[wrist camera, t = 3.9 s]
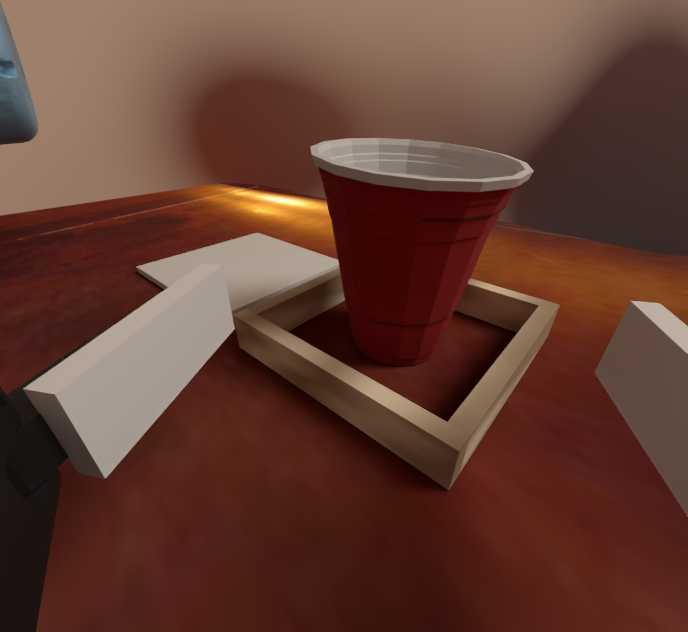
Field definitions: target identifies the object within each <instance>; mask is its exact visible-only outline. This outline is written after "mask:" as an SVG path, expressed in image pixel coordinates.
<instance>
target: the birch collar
mask: <svg viewBox="0 0 688 632" xmlns="http://www.w3.org/2000/svg"><path fill="white" fill-rule="evenodd" d="M343 301H345V297H344V293H343V286H342V280H341V274H340V268H337V269H335V270H333V271H330V272H328V273H326V274H324V275H321V276H319V277H317V278H315V279H312V280H310V281H308V282H306V283H303V284H301V285H299V286H297V287H294V288H292V289H290V290H288V291H285V292H283V293H281V294H279V295H276V296H274V297H272V298H270V299H267V300H265V301H263V302H261V303H258V304H256V305H254V306H252V307H250V308H247V309H245V310H243V311H241V312H238V313H236V314H234V315H233V317H234V322H235V327H236V332H237V337H238V342H239V347H240V348H241V349H243V350H244V351H246V352H247V353H249V354H250V355H252V356H253V357H255V358H256V359H258V360H259V361H260V362H262V363H263V364H265V365H266V366H268V367H269V368H271V369H272V370H274V371H275V372H276V373H278V374H279V375H281V376H282V377H284V378H285V379H287V380H288V381H290V382H291V383H293V384H294V385H295V386H297V387H298V388H300V389H301V390H303V391H304V392H306V393H307V394H309V395H310V396H312V397H313V398H314V399H316V400H317V401H319V402H320V403H322V404H323V405H325V406H326V407H328V408H329V409H330V410H332V411H333V412H335V413H336V414H338V415H339V416H341V417H342V418H344V419H345V420H347V421H348V422H349V423H351V424H352V425H354V426H355V427H357V428H358V429H360V430H361V431H363V432H364V433H366V434H367V435H368V436H370V437H371V438H373V439H374V440H376V441H377V442H379V443H380V444H382V445H383V446H384V447H386V448H387V449H389V450H390V451H392V452H393V453H395V454H396V455H398V456H399V457H401V458H402V459H403V460H405V461H406V462H408V463H409V464H411V465H412V466H414V467H415V468H417V469H418V470H420V471H421V472H422V473H424V474H425V475H427V476H428V477H430V478H431V479H433V480H434V481H436V482H437V483H439V484H440V485H441V486H443V487H444V488H446V489H447V490H449V489H450V488H451V486H452V485H453V483H454V481H455V480H456V478H457V477H458V475H459V474H460V472H461V471H462V469H463V467H464V466H465V464H466V463H467V461H468V460H469V458H470V457H471V455H472V453H473V452H474V450H475V449H476V447H477V446H478V444H479V442H480V441H481V439H482V438H483V436H484V435H485V433H486V432H487V430H488V428H489V427H490V425H491V424H492V422H493V421H494V419H495V418H496V416H497V414H498V413H499V411H500V410H501V408H502V407H503V405H504V404H505V402H506V400H507V399H508V397H509V396H510V394H511V393H512V391H513V390H514V388H515V386H516V385H517V383H518V382H519V380H520V379H521V377H522V376H523V374H524V372H525V371H526V369H527V368H528V366H529V365H530V363H531V361H532V360H533V358H534V357H535V355H536V354H537V352H538V351H539V349H540V347H541V346H542V344H543V343H544V341H545V340H546V338H547V337H548V334H549V332H550V329H551V326H552V324H553V321H554V319H555V316H556V313H557V311H558V308H559V306H560V305H558V304H555V303H552V302H548V301H545V300H541V299H538V298H535V297H531V296H528V295H525V294H521V293H518V292H514V291H511V290H508V289H504V288H501V287H497V286H494V285H491V284H487V283H484V282H481V281H477V280H474V279H469V281H468V284H467V286H466V288H465V291H464V293H463V295H462V298H461V300H460V302H459V305H458V307H457V309H456V310H455V311H458V312H461V313H464V314H466V315H469V316H472V317H475V318H477V319H480V320H483V321H486V322H489V323H491V324H494V325H497V326H500V327H502V328H505V329H508V330H511V331H514V332H516V333H517V334H516V336H515V337H514V338H513V339H512V341H511V342H510V343H509V344H508V346H507V347H506V348H505V349H504V351H503V352H502V353H501V355H500V356H499V357H498V358H497V360H496V361H495V362H494V363H493V365H492V366H491V367H490V369H489V370H488V371H487V372H486V374H485V375H484V376H483V377H482V379H481V380H480V381H479V383H478V384H477V385H476V386H475V388H474V389H473V390H472V391H471V393H470V394H469V395H468V397H467V398H466V399H465V400H464V402H463V403H462V404H461V405H460V407H459V408H458V409H457V411H456V412H455V413H454V414H453V416H452V417H451V418H450V419H449V421H448V422H446V421H445V420H443V419H441V418H439V417H438V416H436V415H434V414H432V413H430V412H429V411H427V410H425V409H423V408H422V407H420V406H418V405H416V404H414V403H413V402H411V401H409V400H407V399H406V398H404V397H402V396H400V395H399V394H397V393H395V392H393V391H391V390H390V389H388V388H386V387H384V386H383V385H381V384H379V383H377V382H375V381H374V380H372V379H370V378H368V377H367V376H365V375H363V374H361V373H360V372H358V371H356V370H354V369H352V368H351V367H349V366H347V365H345V364H344V363H342V362H340V361H338V360H337V359H335V358H333V357H331V356H329V355H328V354H326V353H324V352H322V351H321V350H319V349H317V348H315V347H313V346H312V345H310V344H308V343H306V342H305V341H303V340H301V339H299V338H298V337H296V336H294V335H292V334H290V333H289V332H288V331H290V330H292V329H294V328H295V327H297V326H299V325H301V324H303V323H305V322H306V321H308V320H310V319H312V318H314V317H315V316H317V315H319V314H321V313H323V312H325V311H326V310H328V309H330V308H332V307H334V306H336V305H337V304H339V303H341V302H343Z"/></svg>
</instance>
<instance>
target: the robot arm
mask: <svg viewBox="0 0 688 632" xmlns="http://www.w3.org/2000/svg"><path fill="white" fill-rule="evenodd" d="M37 131H38V123H37V118H36V114H35V110H34V106H33V102H32V98H31V95H30V92H29V88H28V84H27V81H26V77H25V74H24V71H23V68H22V65H21V61H20V58H19V55H18V52H17V49H16V46H15V43H14V40H13V37H12V34H11V31H10V28H9V25H8V22H7V19H6V16H5V13H4V10H3V8H2V5H1V2H0V145H1V144H12V143H24V142H28V141H30V140H32V139H33V138H34V137H35V136H36V134H37ZM234 329H235V327H234V322H233V317H232V312H231V307H230V302H229V297H228V292H227V287H226V281H225V276H224V271H223V266H222V265H217V264H206V263H203V264H201V265H200V266H198V267H197V268H195V269H194V270H193V271H191V272H190V273H188V274H187V275H185V276H184V277H183V278H181V279H180V280H178V281H177V282H175V283H174V284H172V285H171V286H170V287H168V288H167V289H165V290H164V291H162V292H161V293H160V294H158V295H157V296H155V297H154V298H152V299H151V300H150V301H148V302H147V303H145V304H144V305H142V306H141V307H139V308H138V309H137V310H135V311H134V312H132V313H131V314H129V315H128V316H127V317H125V318H124V319H122V320H121V321H119V322H118V323H117V324H115V325H114V326H112V327H111V328H109V329H108V330H105V331H103V332H101V333H99V334H96V335H94V336H93V337H91V338H90V339H88V340H87V341H85V342H84V343H82V344H81V345H79V346H78V348H77V349H74V350H72V351H71V352H69V353H68V354H66V355H65V356H64V358H63V359H59V360H58V361H56V362H55V363H53V364H52V365H50V366H49V367H47V368H46V369H44V370H43V371H42V372H40V373H39V374H37V375H36V376H34V377H33V378H31V379H30V380H28V381H27V382H26V383H24V384H23V385H21V386H20V387H18V388H17V389H15V390H14V391H12V392H11V393H10V394H8V395H6V394H5V393H4V391H3V390H2V388H1V387H0V632H36V627H37V621H38V615H39V609H40V603H41V597H42V591H43V585H44V579H45V574H46V568H47V562H48V556H49V550H50V544H51V538H52V532H53V526H54V520H55V514H56V508H57V502H58V496H59V490H60V484H61V474H60V471H59V470H58V468H57V467H58V466H59V465H60V464H61V463H62V462H64V461H65V460H66V459H67V458H69V460H70V461H71V463H72V464H73V466H74V467H75V469H76V471H77V472H78V473H80V474H85V475H89V476H94V477H99V478H103V479H106V478H107V476H108V475H109V474H110V473H111V472H112V471H113V470H114V468H115V467H116V466H117V465H118V464H119V463H120V461H121V460H122V459H123V458H124V457H125V456H126V454H127V453H128V452H129V451H130V450H131V449H132V447H133V446H134V445H135V444H136V443H137V442H138V441H139V439H140V438H141V437H142V436H143V435H144V434H145V432H146V431H147V430H148V429H149V428H150V427H151V425H152V424H153V423H154V422H155V421H156V420H157V418H158V417H159V416H160V415H161V414H162V413H163V412H164V410H165V409H166V408H167V407H168V406H169V405H170V403H171V402H172V401H173V400H174V399H175V398H176V396H177V395H178V394H179V393H180V392H181V391H182V389H183V388H184V387H185V386H186V385H187V384H188V382H189V381H190V380H191V379H192V378H193V377H194V376H195V374H196V373H197V372H198V371H199V370H200V369H201V367H202V366H203V365H204V364H205V363H206V362H207V360H208V359H209V358H210V357H211V356H212V355H213V353H214V352H215V351H216V350H217V349H218V348H219V347H220V345H221V344H222V343H223V342H224V341H225V340H226V338H227V337H228V336H229V335H230V334H231V333H232V331H233V330H234ZM595 374H596V375H597V377H598V379H599V380H600V382H601V383H602V385H603V386H604V388H605V389H606V391H607V392H608V394H609V396H610V397H611V399H612V400H613V402H614V403H615V405H616V406H617V408H618V410H619V411H620V413H621V414H622V416H623V417H624V419H625V420H626V422H627V423H628V425H629V427H630V428H631V430H632V431H633V433H634V434H635V436H636V437H637V439H638V440H639V442H640V444H641V445H642V447H643V448H644V450H645V451H646V453H647V454H648V456H649V458H650V459H651V461H652V462H653V464H654V465H655V467H656V468H657V470H658V471H659V473H660V475H661V476H662V478H663V479H664V481H665V482H666V484H667V485H668V487H669V489H670V490H671V492H672V493H673V495H674V496H675V498H676V499H677V501H678V502H679V504H680V506H681V507H682V509H683V510H684V512H685V513H686V515H687V516H688V326H687V325H685V324H684V323H683V322H682V321H681V320H679V319H678V318H677V317H676V316H675V315H673V314H672V313H671V312H670V311H668V310H667V309H666V308H665V307H664V306H662V305H661V304H660V303H650V302H638V301H630V303H629V305H628V307H627V309H626V311H625V313H624V315H623V317H622V319H621V321H620V323H619V325H618V327H617V329H616V331H615V333H614V335H613V337H612V339H611V341H610V343H609V345H608V346H607V348H606V350H605V352H604V354H603V356H602V358H601V360H600V362H599V364H598V366H597V368H596V370H595Z"/></svg>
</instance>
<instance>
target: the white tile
mask: <svg viewBox="0 0 688 632" xmlns="http://www.w3.org/2000/svg"><path fill="white" fill-rule="evenodd" d="M203 263H206V264H217V265H222V266H223V271H224V276H225V281H226V287H227V292H228V297H229V302H230V307H231V312H232V317H233V315H234V314H236V313H238V312H241V311H243V310H245V309H247V308H250V307H252V306H254V305H256V304H258V303H261V302H263V301H265V300H267V299H270V298H272V297H274V296H276V295H279V294H281V293H283V292H285V291H288V290H290V289H292V288H294V287H297V286H299V285H301V284H303V283H306V282H308V281H310V280H312V279H315V278H317V277H319V276H321V275H324V274H326V273H328V272H330V271H333V270H335V269H337V268H339V262H338V260H336V259H333V258H330V257H328V256H325V255H322V254H319V253H316V252H313V251H310V250H307V249H304V248H301V247H298V246H295V245H292V244H289V243H287V242H284V241H281V240H278V239H275V238H272V237H269V236H266V235H263V234H260V233H254V234H251V235H247V236H244V237H240V238H236V239H233V240H229V241H226V242H222V243H219V244H215V245H212V246H208V247H204V248H201V249H197V250H194V251H190V252H187V253H183V254H180V255H176V256H173V257H169V258H165V259H162V260H158V261H155V262H151V263H148V264H144V265H141V266H137V270H138V273H140V274H141V275H143V276H144V277H146V278H147V279H149V280H150V281H152V282H153V283H155V284H156V285H158V286H159V287H161V288H163V289H164V290H165V289H167V288H168V287H170V286H171V285H172V284H174V283H175V282H177V281H178V280H180V279H181V278H183V277H184V276H185V275H187V274H188V273H190V272H191V271H193V270H194V269H195V268H197V267H198V266H200V265H201V264H203ZM233 318H234V317H233Z"/></svg>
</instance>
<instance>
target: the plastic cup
mask: <svg viewBox="0 0 688 632" xmlns="http://www.w3.org/2000/svg"><path fill="white" fill-rule="evenodd" d="M311 152H312V157H313V161H314V164H315V165H316V166H318V168H319V172H320V174H321V177H322V181H323V186H324V191H325V195H326V197H327V204H328V210H329V213H330V217H331V220H332V226H333V232H334V238H335V244H336V250H337V256H338V262H339V268H340V274H341V280H342V286H343V293H344V297H345V301H346V305H347V308H348V314H349V320H350V326H351V331H352V335H353V339H354V340H355V344H356V347H357V348H358V349H359V350H360V351H361V352H362V353H363V354H364V355H365V356H366V357H368V358H370V359H372V360H374V361H377V362H379V363H383V364H388V365H394V366H406V365H416V364H418V363H421V362H423V361H426V360H428V359H430V357H431V356H432V355H433V354H434V353H435V352H436V351H437V348H438V346H439V345H440V344H441V343H442V340H443V338H444V335H445V332H446V330H447V327H448V325H449V322H450V320H451V317H452V315H453V312H454V311H455V310H456V309H457V307H458V305H459V302H460V300H461V298H462V295H463V293H464V291H465V288H466V286H467V284H468V281H469V279H470V277H471V274H472V272H473V269H474V267H475V265H476V262H477V260H478V258H479V255H480V253H481V251H482V248H483V246H484V244H485V241H486V239H487V237H488V234H489V232H490V230H491V228H493V227H494V225H495V223H496V221H497V219H498V217H499V215H500V213H501V211H502V209H504V208H505V206H506V204H507V202H508V200H509V198H510V196H511V195H512V194H514V192H515V190H516V188H518V187H519V186H520V184H522V183H523V182H525V181H527V180H528V179H529V177H530V176H531V174H532V173H533V170H532V169H531V167H530V166H529V165H528V164H527V163H526V162H523V161H520V160H518V159H515V158H513V157H510V156H507V155H504V154H500V153H495V152H491V151H487V150H482V149H478V148H472V147H466V146H460V145H453V144H447V143H439V142H429V141H419V140H408V139H386V138H385V139H384V138H354V139H340V140H332V141H324V142H321V143H319V144H316V145H314V146H311Z"/></svg>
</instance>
